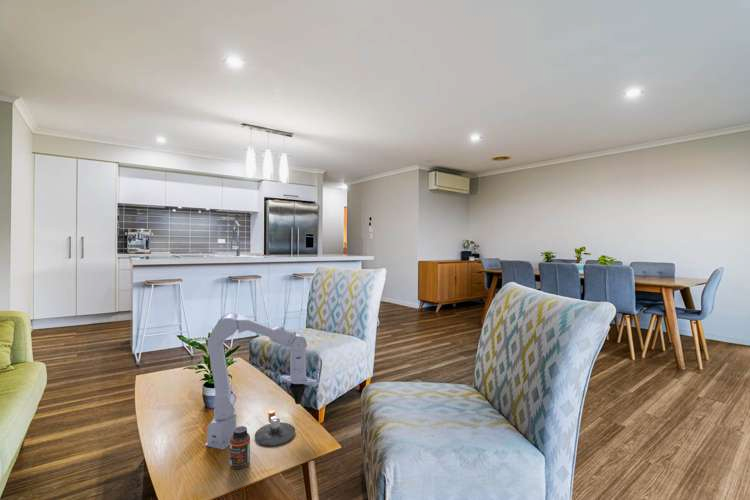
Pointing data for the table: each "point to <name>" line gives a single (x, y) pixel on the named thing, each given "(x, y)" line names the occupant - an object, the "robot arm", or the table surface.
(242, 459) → the supplement bottle
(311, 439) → the table surface
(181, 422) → the table surface
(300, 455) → the table surface
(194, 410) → the table surface
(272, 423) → the crank
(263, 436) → the plate
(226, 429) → the robot arm
